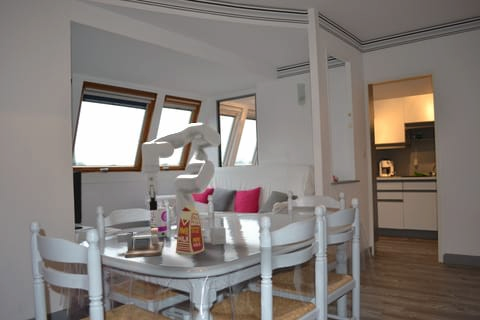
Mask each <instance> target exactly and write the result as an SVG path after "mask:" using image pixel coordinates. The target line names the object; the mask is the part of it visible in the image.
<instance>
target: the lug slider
mask: <svg viewBox="0 0 480 320" xmlns="http://www.w3.org/2000/svg"><path fill="white" fill-rule="evenodd" d="M156 234H157V237H156V238H151V243H152V244H158V242H159V238H158V228H152V229H151V228H150V235H156Z"/></svg>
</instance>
